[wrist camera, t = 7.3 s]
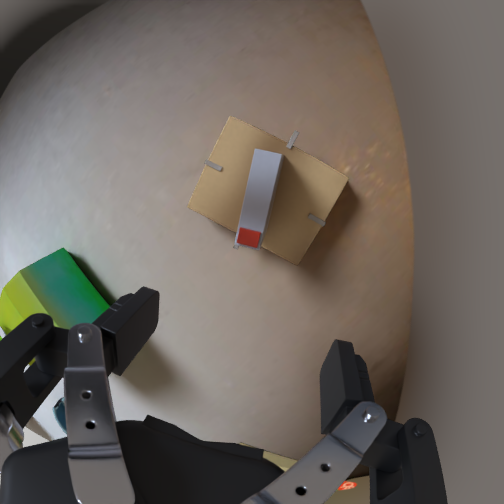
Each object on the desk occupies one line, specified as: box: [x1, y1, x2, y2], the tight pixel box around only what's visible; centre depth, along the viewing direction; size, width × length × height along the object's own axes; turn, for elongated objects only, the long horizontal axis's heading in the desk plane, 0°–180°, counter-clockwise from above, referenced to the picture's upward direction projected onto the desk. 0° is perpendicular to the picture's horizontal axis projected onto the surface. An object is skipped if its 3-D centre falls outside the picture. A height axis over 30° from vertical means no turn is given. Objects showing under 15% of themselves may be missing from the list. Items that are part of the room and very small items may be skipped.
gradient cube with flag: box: [0, 248, 110, 366], centre depth 24 cm, size 11×10×15 cm
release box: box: [239, 443, 298, 471], centre depth 35 cm, size 11×9×4 cm
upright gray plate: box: [235, 149, 285, 250], centre depth 19 cm, size 6×2×5 cm, turn 168°
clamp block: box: [187, 116, 349, 266], centre depth 22 cm, size 10×10×3 cm
